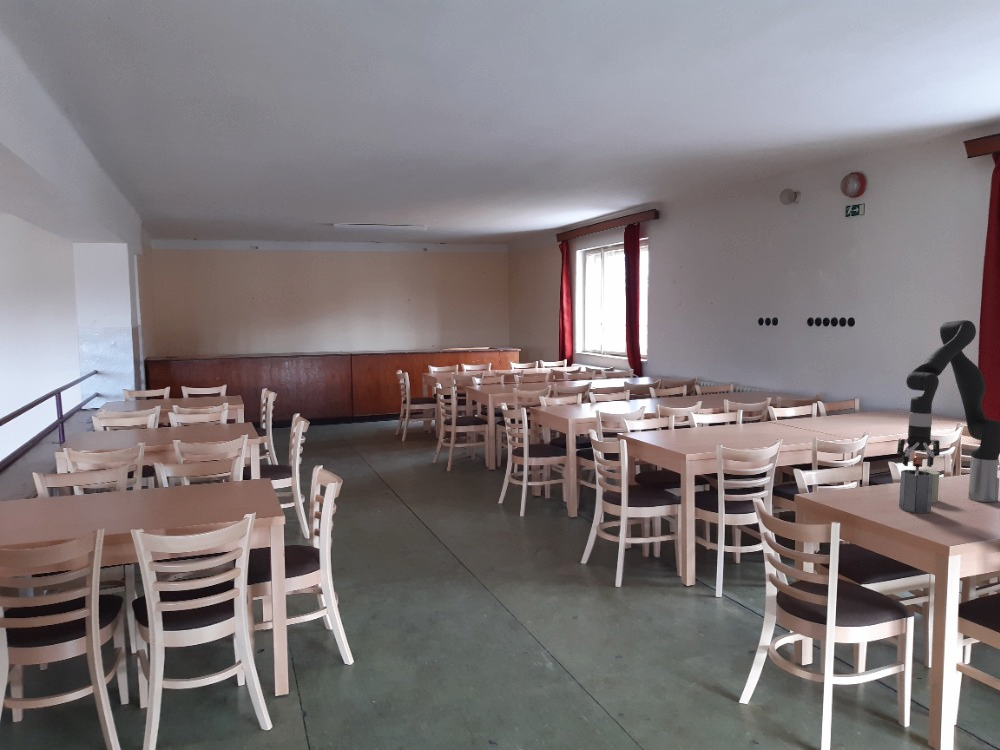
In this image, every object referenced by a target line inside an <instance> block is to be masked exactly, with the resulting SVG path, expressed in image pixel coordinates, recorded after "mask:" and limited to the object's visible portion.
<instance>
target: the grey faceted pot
mask: <svg viewBox="0 0 1000 750" xmlns="http://www.w3.org/2000/svg"><path fill="white" fill-rule="evenodd" d="M915 473H916V469H903V470H900V481H899V483H900V485H899V499H898V500H899V501H898V502H899V503H898V507H899V509H900V510H901V511H904V512H908V513H911V514H912V513H914V514H929V513H931V512H932V503H933V502H932V487H933V474H931V473H929V472H925V471H919V473H918V475H915Z"/></svg>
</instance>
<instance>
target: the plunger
mask: <svg viewBox="0 0 1000 750" xmlns="http://www.w3.org/2000/svg"><path fill="white" fill-rule="evenodd" d="M923 459H924V457H923V456H920V455H913V457H912V466H913V467H915V470H916V473H915V475H918V473H919V469H920V468H922V467H923V461H924V460H923Z"/></svg>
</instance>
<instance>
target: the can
mask: <svg viewBox="0 0 1000 750" xmlns="http://www.w3.org/2000/svg"><path fill="white" fill-rule="evenodd" d="M919 471H925V472H929V473H931V474H933V487H932V503H937V502H939V487H940V486H939V484H940V471H937V470H932V469H925V468H924V469H923V468H919Z"/></svg>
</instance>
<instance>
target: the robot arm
mask: <svg viewBox="0 0 1000 750" xmlns="http://www.w3.org/2000/svg"><path fill="white" fill-rule="evenodd" d="M939 335H940V339H941V341H942V344H943V345H941V346H939V347H938V348H936V349H935V350H934V351H933V352H931V353H930V354H929V356H928V357H927V358H926V360H924V362H923V363H921V364H920V365H919V366H917V367H916V368H915V369H913V370H912V371H910V372H909V374H908V375H907V377H906V379H905V380H906V386H907V387H908V389H910V390H912V391H920V392H921V391H923V394H922V395H921V396H920V395H919V396H913V397H912V398H911V399H910V407H909V408H910V410H909V416H908V429H907V438H905V439H904V438H898V442H897V454H898V455H901V456H902V457H901V458H902V461H901V463H902V465H903V466H905V467H908V466H909V455H910V454H911V453H913V451H914V452H918V451H920V452H925V453H926V454H927V459H926V461H927V463H926V466H927V467H929V468H932V467H933V465H934V458H935V457H939V456H940V440H938V439H935V438H934V439H931V437H932V420H933V418H932V411H933V410H932V406H933V405H932V404H933V401H934V397H935V395H936V392H937V390H938V388H939V384H940V380H939V377H940V375H942V373H943V371H945V369H946V367H947V366H948V365H949V364H950V365H951V367H952V371H953V374H954V378H955V382H956V386H957V388H958V392H959V395H960V398H961V403H962V405H963V410H964V414H965V420H966V428H967V432H968V434H969V435H970V436H971V438H973V439H975V440H978V441H980V444H979V447H978V448H977V447H976V448H973V449H972V450H971V452H970V453H971V454H970V456H971V457H970V468H969V480H968V481H969V483H968V499H970V500H972V501H976V502H982V503H995V502H999V488H1000V478H999V477H998V469H999V468H998V467H999V457H1000V421H998V420H996V419H991V418H987V417H986V415H985V412H984V409H983V399H984V397H985V393H986V383H985V380H984V376H983V373H982V370H981V369H980V368H979V367H978V366H977V365H976V364H975V363H974V362H973V361H972V360H970V359H969V357H967V356H966V354H965V353H964V351H963V350H964V349H965V348H966V347H968V345H970V344H971V343H972V342H973V340H975V337H976V335H977V328H976V326H975V324H974V323H973V322H972V321H971V320H968V319H967V320H966V319H965V320H964V319H963V320H953V321H947V322H944V323H941V326H940V327H939ZM906 443H907V446H906V448H905V445H906ZM931 445H932V449H933V450H931V448H930V446H931Z"/></svg>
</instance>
